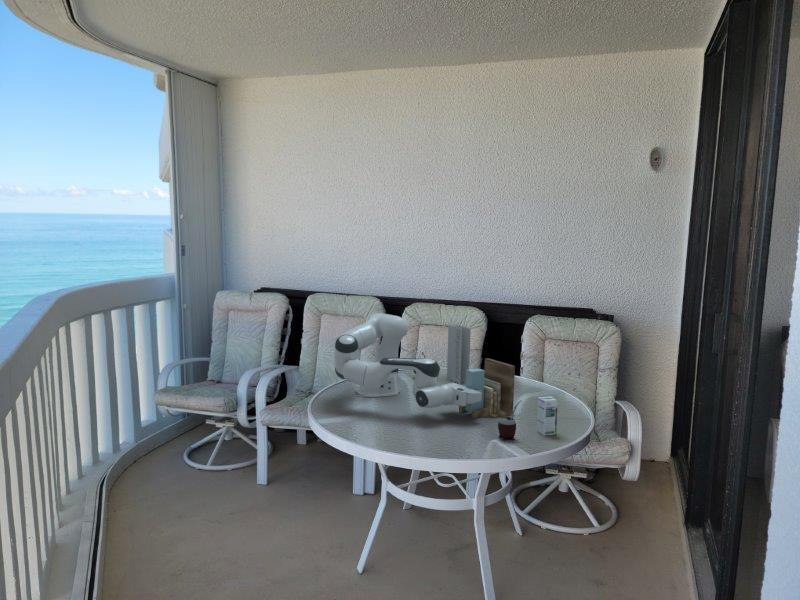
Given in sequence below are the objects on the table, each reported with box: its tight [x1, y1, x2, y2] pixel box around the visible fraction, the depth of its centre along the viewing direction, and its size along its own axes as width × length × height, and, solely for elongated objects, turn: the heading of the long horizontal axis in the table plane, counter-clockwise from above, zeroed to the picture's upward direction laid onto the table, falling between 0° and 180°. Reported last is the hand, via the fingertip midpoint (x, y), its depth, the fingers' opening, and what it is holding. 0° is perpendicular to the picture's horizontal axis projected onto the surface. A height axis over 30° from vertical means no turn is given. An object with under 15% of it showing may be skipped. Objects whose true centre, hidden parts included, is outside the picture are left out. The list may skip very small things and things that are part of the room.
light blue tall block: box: [465, 368, 485, 413], centre depth 254 cm, size 7×4×18 cm, turn 122°
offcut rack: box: [458, 357, 516, 419], centre depth 257 cm, size 19×18×22 cm
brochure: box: [446, 324, 472, 385], centre depth 312 cm, size 14×6×30 cm, turn 25°
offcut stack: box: [483, 378, 501, 414], centre depth 259 cm, size 5×13×13 cm, turn 31°
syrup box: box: [536, 396, 559, 437], centre depth 231 cm, size 6×6×14 cm
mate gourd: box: [497, 399, 522, 441], centre depth 224 cm, size 8×8×15 cm
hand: (476, 389), depth 254 cm, fingers closed on light blue tall block, 4 cm apart
